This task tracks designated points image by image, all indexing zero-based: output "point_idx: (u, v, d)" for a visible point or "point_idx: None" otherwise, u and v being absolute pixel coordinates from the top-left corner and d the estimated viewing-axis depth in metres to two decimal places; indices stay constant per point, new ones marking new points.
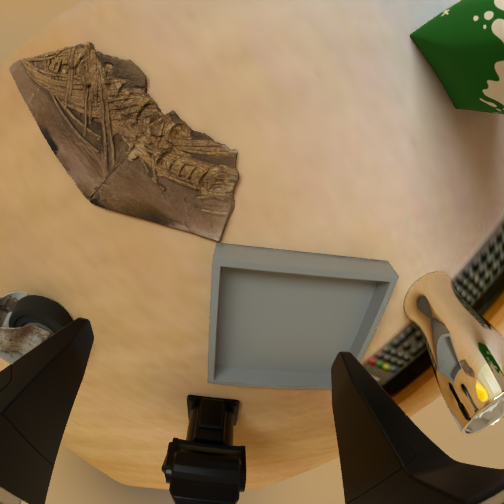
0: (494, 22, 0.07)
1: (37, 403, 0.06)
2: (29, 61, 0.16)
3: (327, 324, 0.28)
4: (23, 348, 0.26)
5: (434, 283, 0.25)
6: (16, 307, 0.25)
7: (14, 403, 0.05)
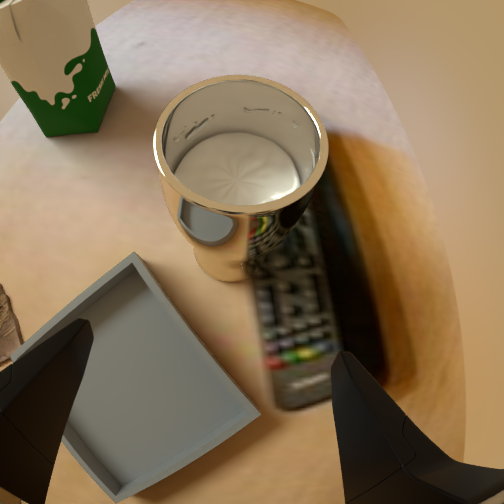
0: (10, 81, 0.17)
1: (37, 403, 0.06)
2: None
3: (152, 361, 0.21)
4: None
5: None
6: None
7: (14, 403, 0.05)
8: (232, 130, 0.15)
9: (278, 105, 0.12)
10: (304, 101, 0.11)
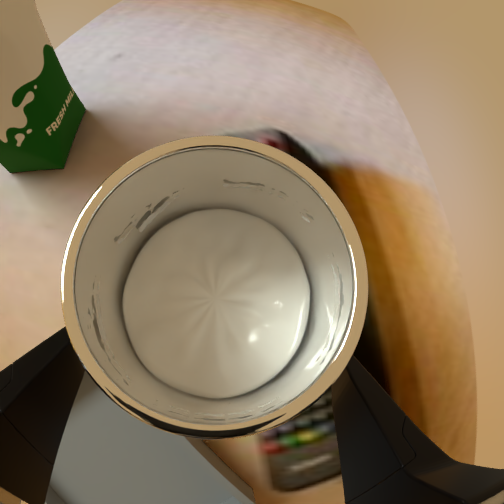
0: None
1: (37, 403, 0.06)
2: None
3: (135, 445, 0.17)
4: None
5: None
6: None
7: (14, 403, 0.05)
8: (209, 205, 0.11)
9: (280, 184, 0.08)
10: (328, 192, 0.07)
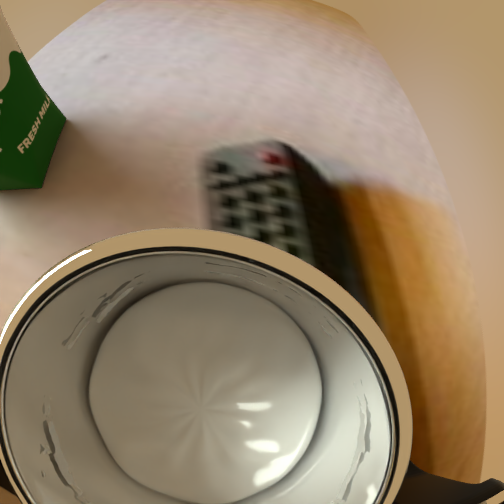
0: None
1: None
2: None
3: None
4: None
5: None
6: None
7: None
8: (191, 279, 0.08)
9: (291, 289, 0.05)
10: (374, 334, 0.04)
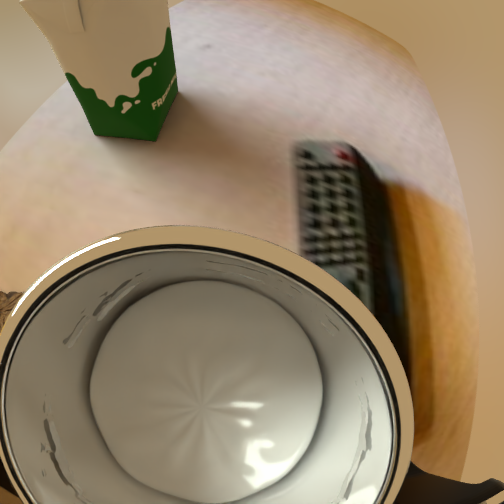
0: None
1: None
2: None
3: None
4: None
5: None
6: None
7: None
8: (192, 278, 0.08)
9: (292, 287, 0.05)
10: (375, 332, 0.04)
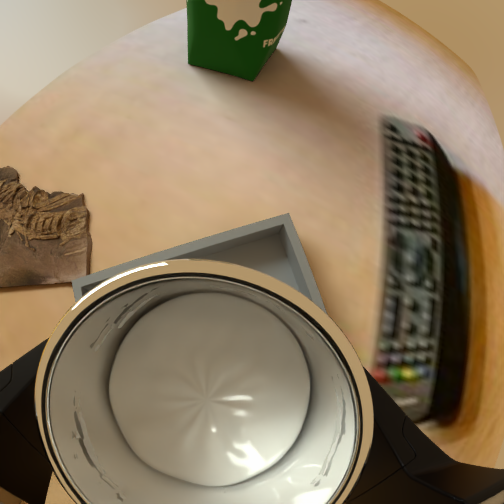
0: None
1: None
2: None
3: None
4: None
5: None
6: None
7: (14, 403, 0.05)
8: (198, 290, 0.09)
9: (278, 302, 0.06)
10: (339, 338, 0.05)
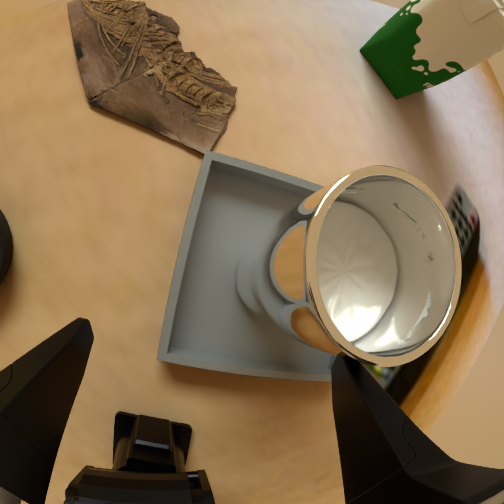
0: (411, 8, 0.18)
1: (37, 403, 0.06)
2: (89, 1, 0.19)
3: None
4: None
5: (257, 247, 0.22)
6: None
7: (14, 403, 0.05)
8: (364, 207, 0.14)
9: (430, 230, 0.11)
10: (459, 255, 0.09)
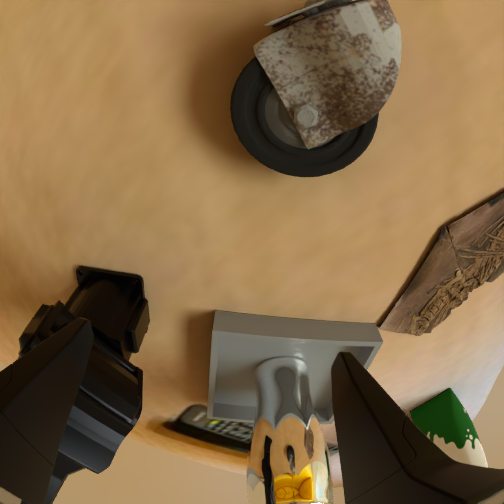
0: (469, 440, 0.26)
1: (37, 403, 0.06)
2: None
3: None
4: (291, 52, 0.13)
5: (305, 374, 0.27)
6: None
7: (14, 403, 0.05)
8: None
9: None
10: None
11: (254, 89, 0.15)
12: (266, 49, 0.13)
